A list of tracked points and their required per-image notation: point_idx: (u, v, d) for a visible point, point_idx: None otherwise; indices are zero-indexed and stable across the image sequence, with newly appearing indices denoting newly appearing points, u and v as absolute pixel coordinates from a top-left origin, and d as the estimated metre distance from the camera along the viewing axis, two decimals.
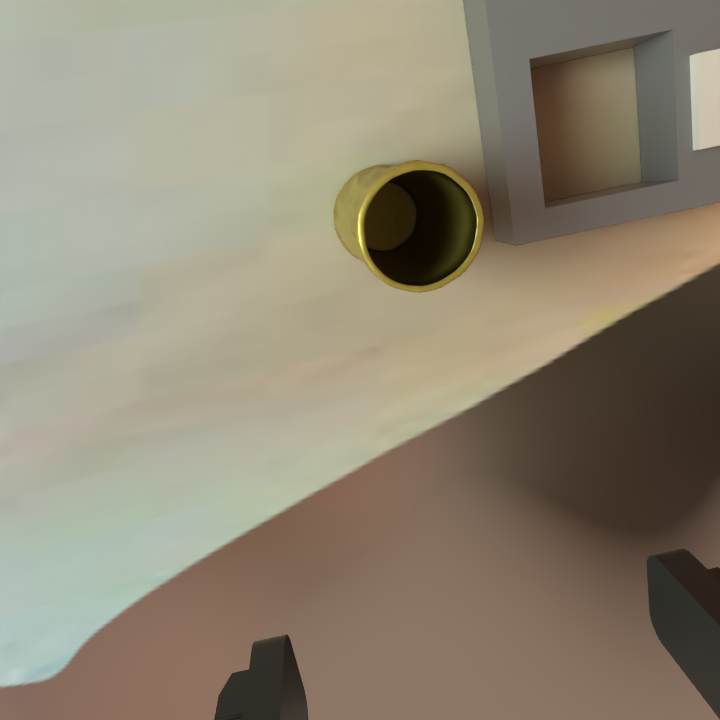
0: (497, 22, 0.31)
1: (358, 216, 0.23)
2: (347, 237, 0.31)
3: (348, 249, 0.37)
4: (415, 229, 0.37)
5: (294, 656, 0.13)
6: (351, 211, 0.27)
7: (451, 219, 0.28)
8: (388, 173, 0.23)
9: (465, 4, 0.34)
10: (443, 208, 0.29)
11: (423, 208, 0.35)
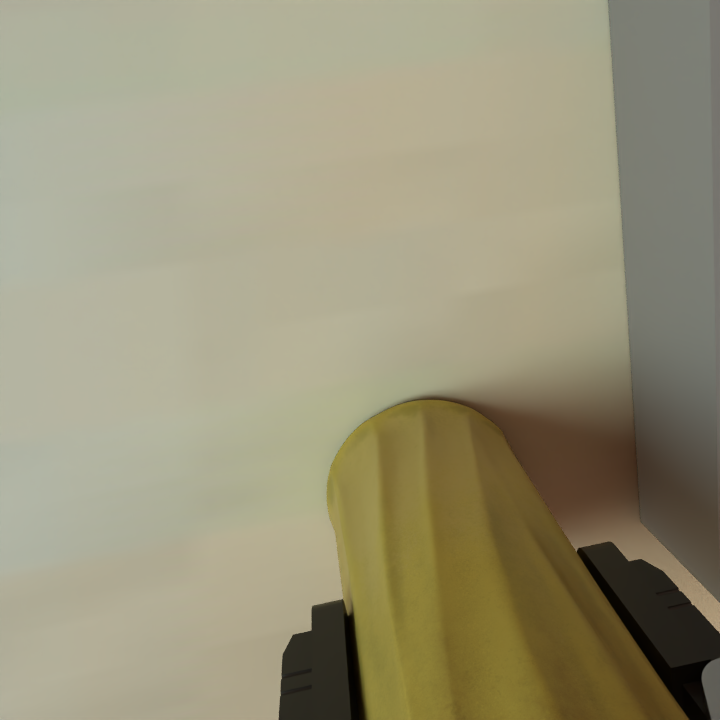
0: None
1: None
2: None
3: None
4: None
5: None
6: None
7: None
8: None
9: (619, 77, 0.15)
10: None
11: None
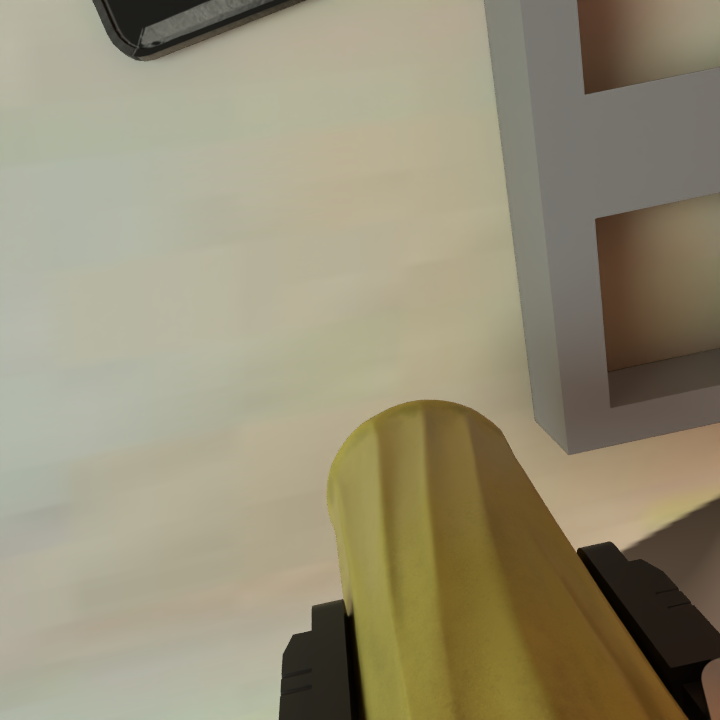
0: (552, 171, 0.22)
1: None
2: None
3: None
4: None
5: None
6: None
7: None
8: None
9: (502, 129, 0.25)
10: None
11: None
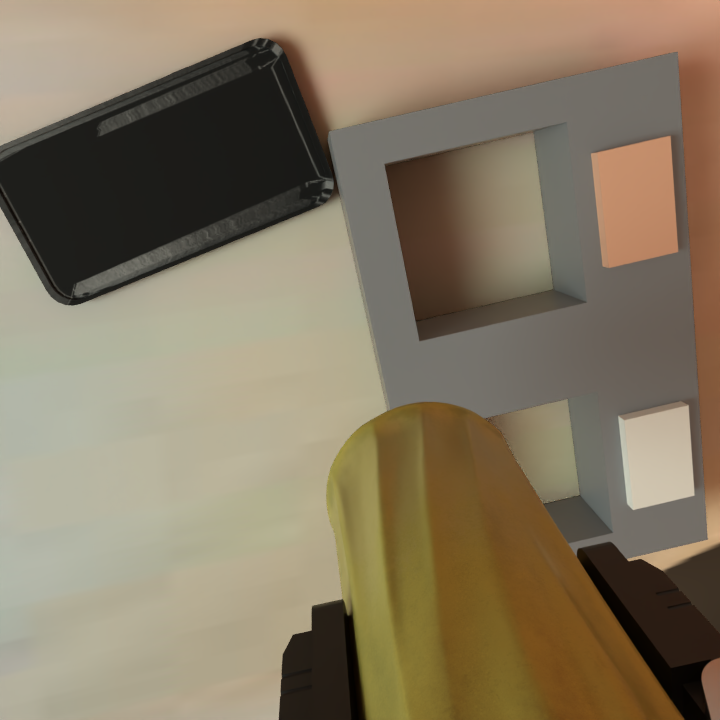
0: (398, 397, 0.28)
1: None
2: None
3: None
4: None
5: None
6: None
7: None
8: None
9: (372, 342, 0.31)
10: None
11: None
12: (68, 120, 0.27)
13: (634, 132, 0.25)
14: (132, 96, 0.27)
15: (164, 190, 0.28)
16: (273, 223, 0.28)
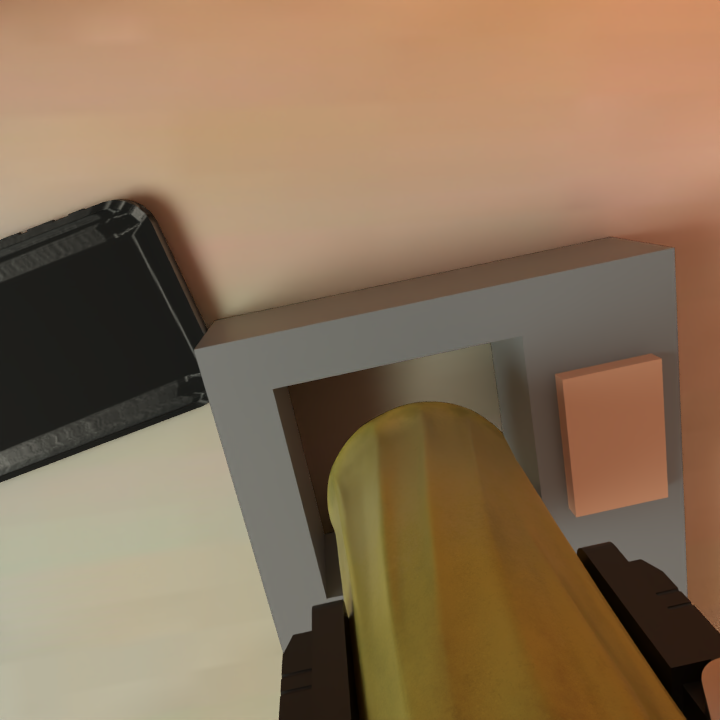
0: None
1: None
2: None
3: None
4: None
5: None
6: None
7: None
8: None
9: None
10: None
11: None
12: None
13: (613, 347, 0.19)
14: None
15: None
16: (143, 426, 0.22)
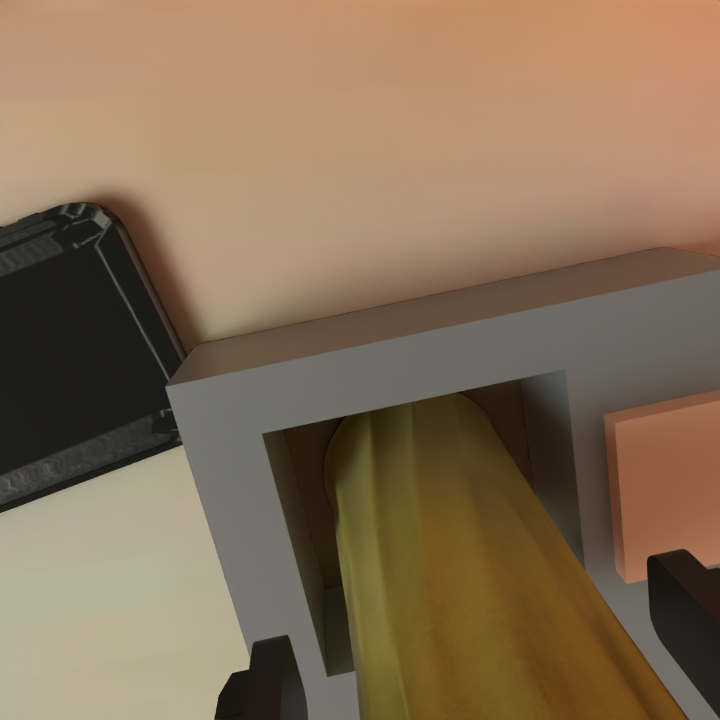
0: None
1: None
2: None
3: None
4: None
5: (294, 656, 0.13)
6: None
7: None
8: None
9: None
10: None
11: None
12: None
13: (675, 383, 0.16)
14: None
15: None
16: (111, 469, 0.18)
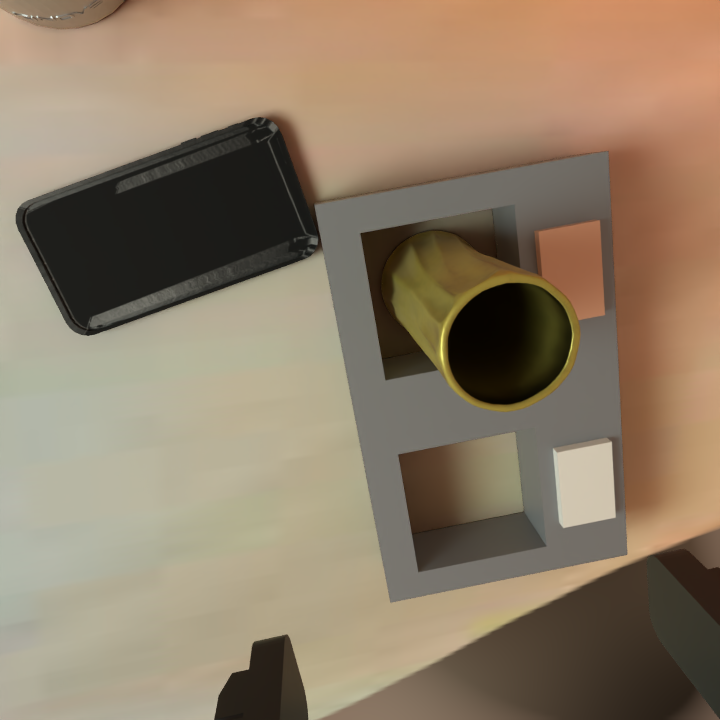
0: (366, 426, 0.33)
1: (442, 331, 0.21)
2: (406, 321, 0.28)
3: (396, 318, 0.35)
4: None
5: (294, 656, 0.13)
6: (422, 308, 0.24)
7: (527, 314, 0.26)
8: (478, 286, 0.20)
9: None
10: (515, 297, 0.27)
11: None
12: (91, 179, 0.31)
13: (570, 214, 0.30)
14: (147, 161, 0.31)
15: (171, 240, 0.32)
16: (264, 272, 0.33)
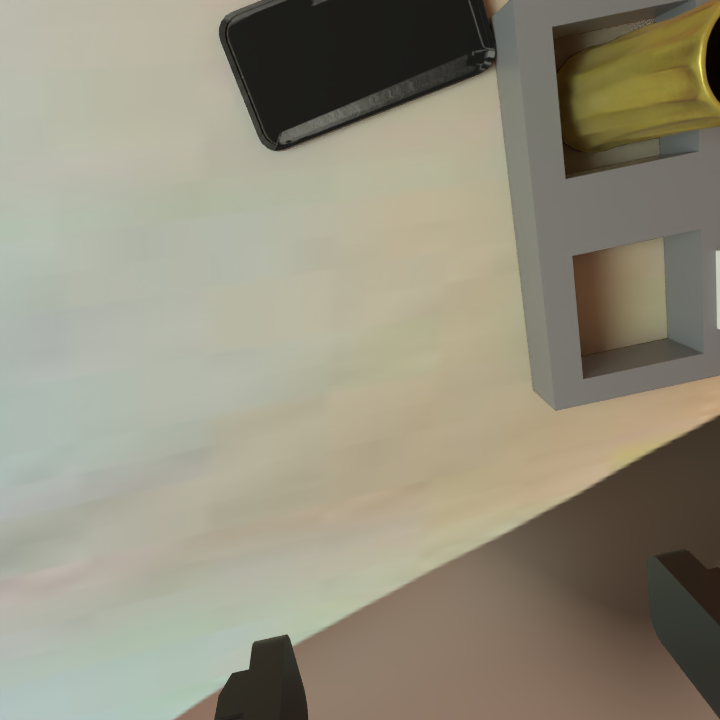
0: (544, 226, 0.35)
1: (703, 35, 0.23)
2: (605, 100, 0.30)
3: (562, 134, 0.37)
4: None
5: (294, 656, 0.13)
6: (649, 53, 0.26)
7: None
8: None
9: (512, 193, 0.38)
10: (717, 63, 0.29)
11: None
12: None
13: None
14: None
15: (359, 54, 0.34)
16: (444, 85, 0.35)
